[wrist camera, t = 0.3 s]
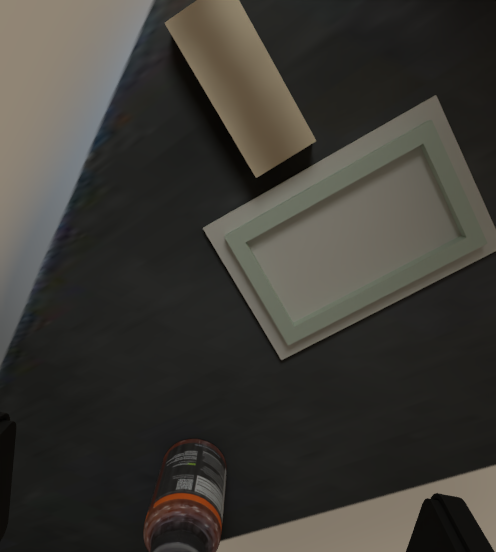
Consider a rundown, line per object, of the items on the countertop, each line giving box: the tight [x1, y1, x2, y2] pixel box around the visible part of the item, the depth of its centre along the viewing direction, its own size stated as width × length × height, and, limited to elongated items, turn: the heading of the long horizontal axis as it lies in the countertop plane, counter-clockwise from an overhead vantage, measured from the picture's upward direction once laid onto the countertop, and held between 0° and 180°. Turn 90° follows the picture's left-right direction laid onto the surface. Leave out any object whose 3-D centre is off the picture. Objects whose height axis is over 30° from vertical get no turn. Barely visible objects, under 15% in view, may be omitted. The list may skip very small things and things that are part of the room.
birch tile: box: [165, 0, 316, 178], centre depth 34 cm, size 5×12×3 cm, turn 31°
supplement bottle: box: [143, 439, 226, 552], centre depth 39 cm, size 6×6×11 cm
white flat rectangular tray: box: [203, 95, 496, 360], centre depth 37 cm, size 20×13×2 cm, turn 120°
